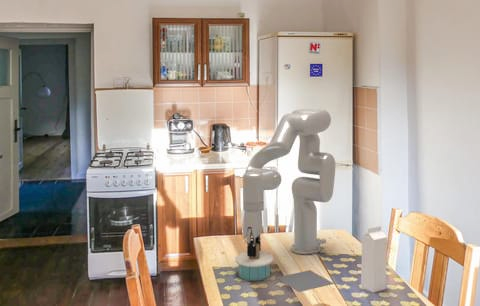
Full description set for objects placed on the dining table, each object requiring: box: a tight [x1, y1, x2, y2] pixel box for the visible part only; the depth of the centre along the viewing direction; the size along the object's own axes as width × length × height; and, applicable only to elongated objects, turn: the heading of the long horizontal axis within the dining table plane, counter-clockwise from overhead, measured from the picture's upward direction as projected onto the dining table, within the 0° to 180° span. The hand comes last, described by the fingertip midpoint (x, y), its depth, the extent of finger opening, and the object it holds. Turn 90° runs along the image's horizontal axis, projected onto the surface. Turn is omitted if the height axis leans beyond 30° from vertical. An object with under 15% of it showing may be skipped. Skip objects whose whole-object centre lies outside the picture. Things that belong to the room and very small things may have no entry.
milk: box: [360, 225, 388, 293], centre depth 176 cm, size 6×6×22 cm
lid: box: [234, 243, 274, 267], centre depth 191 cm, size 14×14×6 cm
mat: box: [275, 270, 335, 293], centre depth 185 cm, size 15×15×1 cm
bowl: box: [237, 263, 271, 282], centre depth 192 cm, size 12×12×6 cm
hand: (254, 253), depth 191 cm, fingers open, 5 cm apart
